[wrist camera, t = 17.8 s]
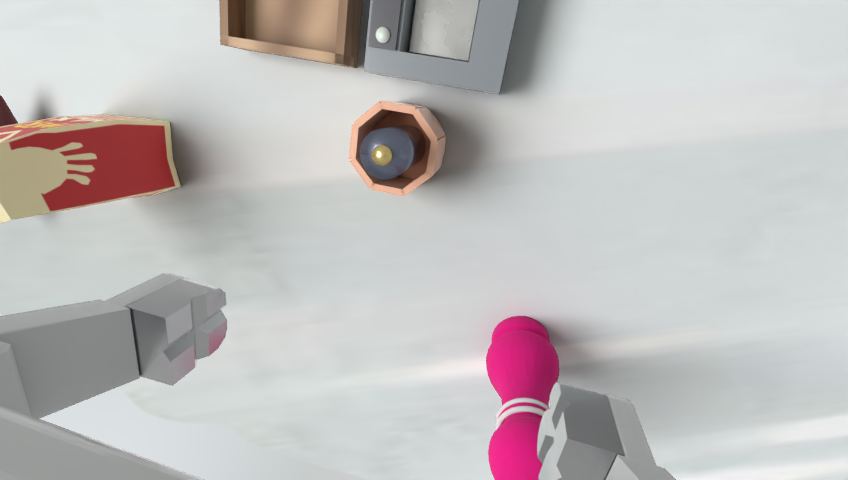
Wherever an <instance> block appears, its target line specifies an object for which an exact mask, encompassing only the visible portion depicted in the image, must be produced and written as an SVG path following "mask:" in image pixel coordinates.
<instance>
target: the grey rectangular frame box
mask: <svg viewBox="0 0 848 480" xmlns="http://www.w3.org/2000/svg"><path fill="white" fill-rule="evenodd" d="M415 4H416V0H370V10H369V21H368V31H367V42H366V52H365V63H364V71H366V72H370V73H374V74H378V75H384V76H391V77H397V78H403V79H409V80H415V81H421V82H427V83H433V84H439V85H445V86H451V87H457V88H463V89H469V90H475V91H481V92H487V93H493V94H500V89H501V84H502V79H503V75H504V70H505V65H506V61H507V56H508V51H509V47H510V42H511V37H512V32H513V28H514V23H515V18H516V14H517V9H518V4H519V0H480V2H479V8H478V13H477V19H476V25H475V30H474V36H473V41H472V47H471V52H470V58H469V62H464V61H458V60H451V59H445V58H439V57H432V56H426V55H419V54H413V53H409V50H410V42H411V35H412V27H413V19H414V12H415Z"/></svg>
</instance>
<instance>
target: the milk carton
mask: <svg viewBox="0 0 848 480" xmlns="http://www.w3.org/2000/svg"><path fill="white" fill-rule="evenodd" d="M178 187H181V185H180V182H179V178H178V175H177V171H176V168H175V165H174V161H173V153H172V141H171V129H170V122H169V121H161V120H153V119H145V118H137V117H126V116H113V115H81V116H62V117H53V118H48V119H42V120H36V121H30V122H25V123H19V124H13V125H7V126H2V127H0V223H3V222H6V221H9V220H13V219H18V218H24V217H30V216H35V215H41V214H47V213H52V212H58V211H64V210H69V209H75V208H80V207H85V206H90V205H96V204H101V203H106V202H111V201H116V200H121V199H126V198H132V197H141V196H151V195H156V194H159V193H163V192H166V191H169V190H172V189H175V188H178Z"/></svg>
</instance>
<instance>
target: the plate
mask: <svg viewBox="0 0 848 480" xmlns="http://www.w3.org/2000/svg"><path fill="white" fill-rule="evenodd" d="M479 2H480V0H416V5H415V12H414V20H413V28H412V35H411V43H410V51H409V52H411V53H417V54H423V55H429V56H436V57H442V58H449V59H455V60H461V61H468V62H469V58H470V52H471V47H472V41H473V36H474V30H475V25H476V19H477V13H478V8H479Z"/></svg>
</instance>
